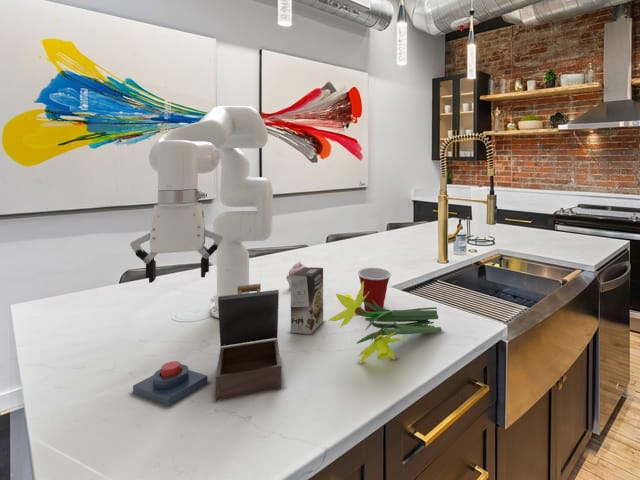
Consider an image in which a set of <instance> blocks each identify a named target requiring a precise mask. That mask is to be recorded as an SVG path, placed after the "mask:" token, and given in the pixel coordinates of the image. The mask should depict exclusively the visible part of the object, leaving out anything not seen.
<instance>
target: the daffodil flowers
mask: <svg viewBox="0 0 640 480" xmlns="http://www.w3.org/2000/svg"><path fill="white" fill-rule="evenodd" d="M363 288H364V281H363V282H362V284H361V283H360V288H359V291H358V292H357V295H356V298H355V299H354V298H353V297H352V295H351V294H350V293H347V294H345V295H343V294H339V293H335V294H336V298H337V300H338V301H339V303H340V305H342V306H343V307H344V308H346V309H344V310H342V311H341V312H339V313H337V314H336V315H334V316H332V317H331V318H329V319H328V320H327V322H337V321H341V320H343V321H342V322H341V324H340V326H339V329H341V328H342V327H344V326H346V325H348V324H349V322H350V321H351V320H352V319H353V317H354V316H355V317H359V316H360V317H364V320H365V321H366V322H369V324H368V325H367V327H366V328H365V331H367V330H368V329H369V328H370V327H371V326H372V327H374V328H378V329H379V330H378V331H374V332H372V333H368V334H367V335H365V336H364V337H362V338H361V339H359V340H358V341H357V342H356V344H362V343H364V342H366V341H370V342H371V344H369V346H367V347H365V348H364V349H362V350H361V351H360V353H359V354H358V356H357V358H358V357H360V356H361V358H360V364H362V363H363V362H364V361H366V360H367V359H368V358H369V357H370V356H371V355H372V354H374V353H375V352H376V351H377V359H378V360H379V361H382V360H383V361H384V360H386V359H388V357H389V358H390V359H392V360H396V357H395V354H394V352H393V350H392V348H391V346H390V344H393V343H395V342H401V341H403V342H404V341H405V342H406V341H408V340H409V338H400V337H393V336H399V335H401V336H402V335H416V334H417V335H418V334H434V333H435V334H436V333H442V327H441V326H435V325H433V324H434V323H435V321H432V320H439V314H438V307H437V306H435V307H434V306H433V307H420V308H410V309H409V308H408V309H393V310H392V309H391V310H390V309H387V308H384V307H383V308H381V307H380V306H378V305H377V304H376V303H375V302H374V301H373V300H372V301H373V302H374V304H375V305H376V306H377V307H376V306H374V305H372V304H370V303H368V302H366V301H364V299H365V297H366V296H367V295H366V296H364V297H363ZM368 293H369V292H368ZM362 303H363V304H364V303H365V304H366V305H367V306H369V307H370V308H371V309H373V310H375V311H378V312H369V311H366V310H364V309H363V308H362Z"/></svg>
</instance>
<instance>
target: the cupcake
mask: <svg viewBox="0 0 640 480" xmlns="http://www.w3.org/2000/svg"><path fill="white" fill-rule="evenodd" d="M304 267H307V266H306V265H305V264H302V263H301V261H299V262H296V263H295V264H294V265H292V268H291V269H289V271H288V275H285V276H286V277H285V279H286V281H287V283H288V287H289V290H290V291H291V275H292V274H294V273H295V272H297V271H299V270H300V269H302V268H304Z"/></svg>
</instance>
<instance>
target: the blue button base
mask: <svg viewBox="0 0 640 480" xmlns="http://www.w3.org/2000/svg"><path fill="white" fill-rule="evenodd" d="M208 383H209V382H208V375H206V374H203V373H199V372H197V371H194V370H191V369H189V366H188V365H186V364H184V363H183V364H182V363H181V372H180V373H179V374H177V375H175V376H172V377H166V378H163V377H161V368H160V369H158V370H156V371H155V372H154V373H153V374H152V375H151V376H149V377H147V378H145V379H143V380H141V381H139V382H137V383H134V384H133V385H132V393H133V394H135V395H136V396H139V397H142V398H145V399H147V400H150V401H152V402H155V403H158V404H160V405H163V406H165V407H170V406H172V405H174V404H175V403H177V402H179V401H180V400H182V399H184V398H185V397H187V396H189V395H190V394H192V393H194V392H196V391H197V390H199V389H201V388H202V387H204V386H206V385H207V384H208Z"/></svg>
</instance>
